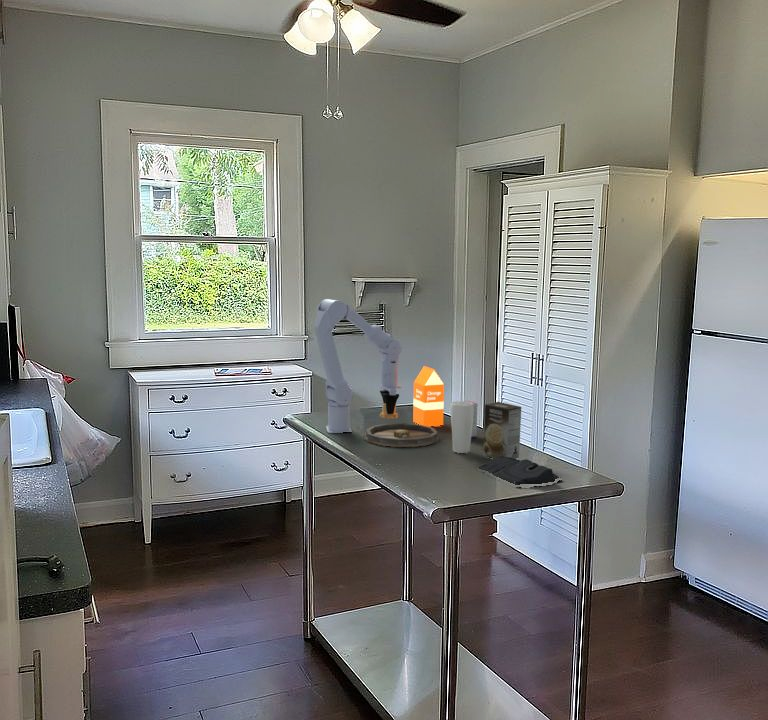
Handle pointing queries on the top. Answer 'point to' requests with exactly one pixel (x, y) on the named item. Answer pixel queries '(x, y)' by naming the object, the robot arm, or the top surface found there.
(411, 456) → the top surface
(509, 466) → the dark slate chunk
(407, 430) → the wooden tray
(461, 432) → the drinking glass
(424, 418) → the orange juice
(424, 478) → the top surface
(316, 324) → the robot arm
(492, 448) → the coffee box
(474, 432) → the supplement box
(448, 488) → the top surface
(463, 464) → the top surface
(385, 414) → the planet gear
